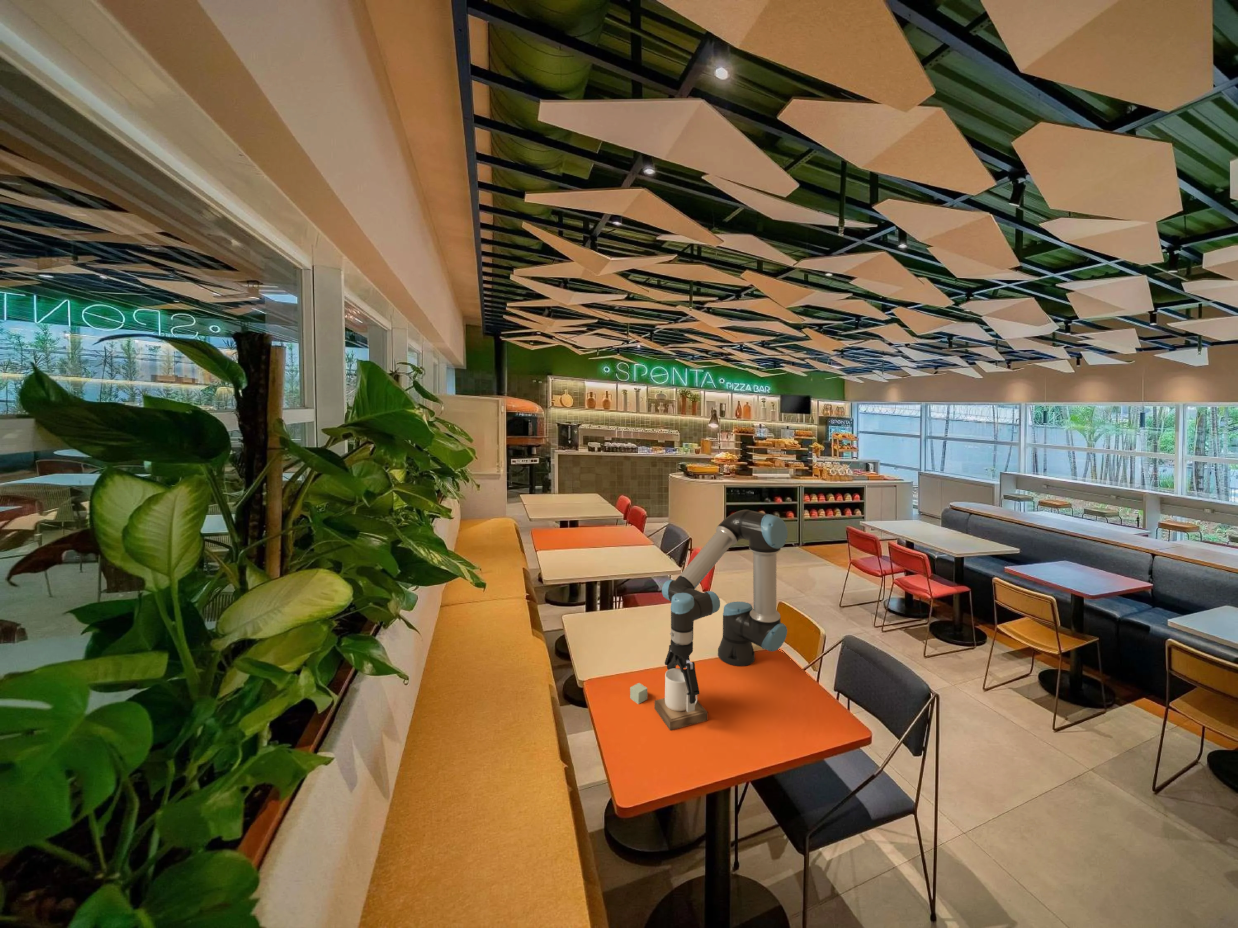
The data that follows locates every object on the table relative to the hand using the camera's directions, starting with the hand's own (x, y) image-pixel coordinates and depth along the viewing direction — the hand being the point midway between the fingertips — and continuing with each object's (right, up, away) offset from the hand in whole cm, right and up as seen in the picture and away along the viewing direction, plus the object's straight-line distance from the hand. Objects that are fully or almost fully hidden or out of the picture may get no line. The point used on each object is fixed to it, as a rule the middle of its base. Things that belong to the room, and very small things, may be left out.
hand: (680, 698), depth 160 cm
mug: (0, -3, 0) cm, 3 cm away
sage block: (-14, -5, +9) cm, 17 cm away
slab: (0, -6, +1) cm, 6 cm away
